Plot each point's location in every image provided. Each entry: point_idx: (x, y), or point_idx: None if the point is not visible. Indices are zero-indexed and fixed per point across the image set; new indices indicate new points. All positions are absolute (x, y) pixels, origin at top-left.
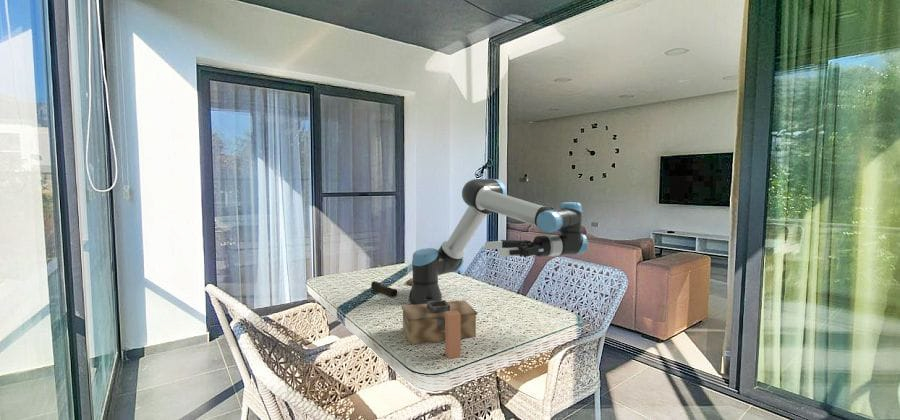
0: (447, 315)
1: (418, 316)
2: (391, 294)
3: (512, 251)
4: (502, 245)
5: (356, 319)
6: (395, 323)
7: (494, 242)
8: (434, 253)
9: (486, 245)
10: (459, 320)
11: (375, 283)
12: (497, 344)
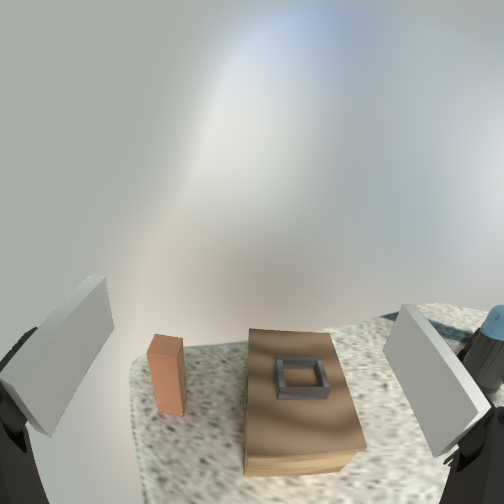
0: (162, 336)
1: (260, 343)
2: (459, 354)
3: (26, 339)
4: (466, 445)
5: (360, 324)
6: (344, 361)
7: (435, 358)
8: None
9: (395, 330)
10: (149, 361)
11: (476, 330)
12: (179, 498)
